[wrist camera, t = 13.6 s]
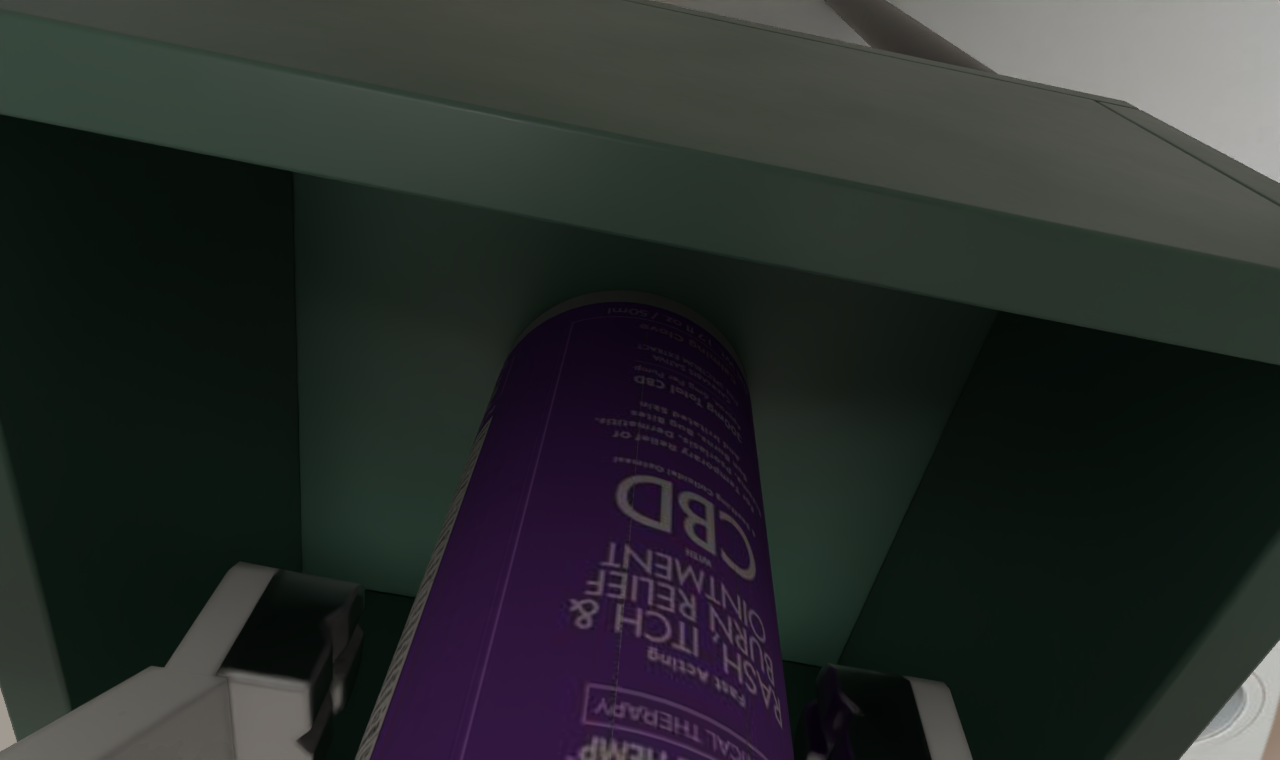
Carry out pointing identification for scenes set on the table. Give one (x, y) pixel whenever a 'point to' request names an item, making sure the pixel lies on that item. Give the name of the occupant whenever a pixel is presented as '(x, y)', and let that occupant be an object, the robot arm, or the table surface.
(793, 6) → the table surface
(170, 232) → the green legged tray box
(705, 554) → the container
